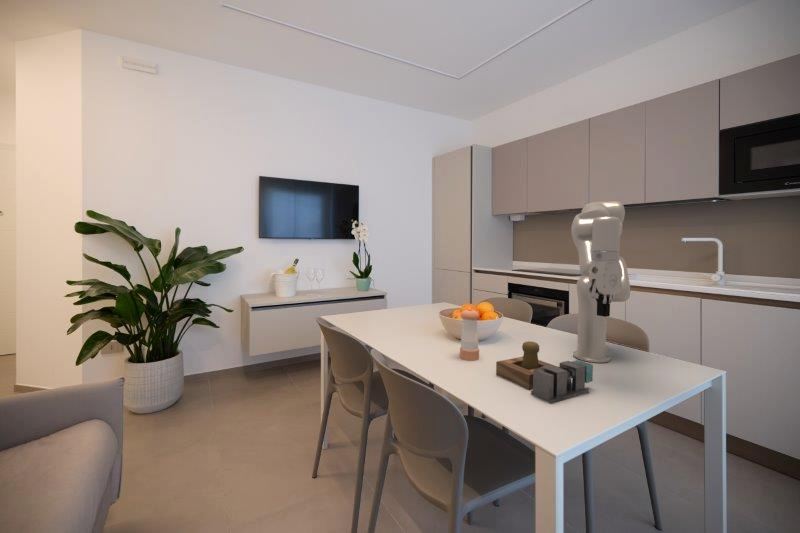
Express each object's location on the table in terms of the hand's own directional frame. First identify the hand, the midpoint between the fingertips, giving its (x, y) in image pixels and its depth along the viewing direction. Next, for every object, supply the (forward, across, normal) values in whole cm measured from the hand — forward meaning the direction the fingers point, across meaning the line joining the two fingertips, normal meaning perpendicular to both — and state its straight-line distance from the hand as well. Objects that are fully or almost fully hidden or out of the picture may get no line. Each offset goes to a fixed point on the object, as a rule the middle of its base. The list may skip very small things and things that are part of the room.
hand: (603, 315), depth 111 cm
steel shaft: (+19, -17, 0) cm, 25 cm away
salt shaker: (+21, -21, +39) cm, 49 cm away
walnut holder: (+21, -18, +13) cm, 31 cm away
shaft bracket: (+21, -19, 0) cm, 28 cm away
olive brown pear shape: (+20, -18, +12) cm, 30 cm away
